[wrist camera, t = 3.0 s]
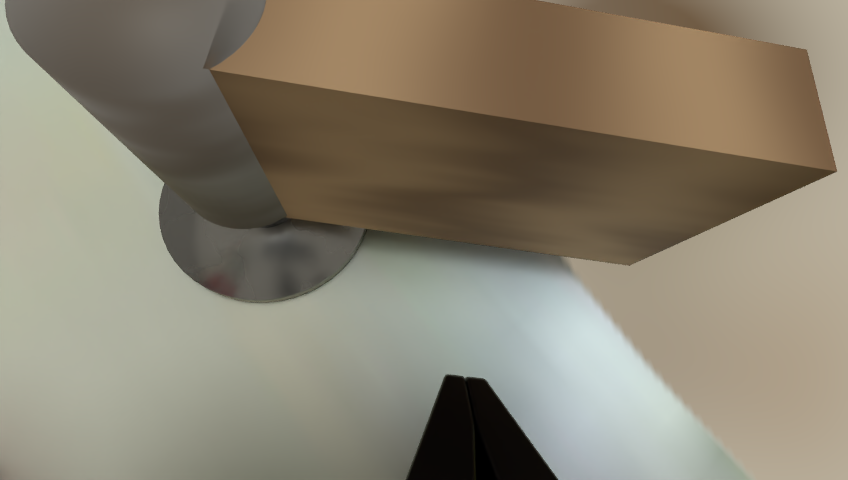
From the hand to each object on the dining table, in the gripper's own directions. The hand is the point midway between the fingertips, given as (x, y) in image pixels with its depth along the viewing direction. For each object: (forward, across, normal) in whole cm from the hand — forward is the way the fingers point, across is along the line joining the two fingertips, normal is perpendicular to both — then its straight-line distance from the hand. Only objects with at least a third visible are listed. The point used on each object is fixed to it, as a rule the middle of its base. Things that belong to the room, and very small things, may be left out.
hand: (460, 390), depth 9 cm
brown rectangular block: (+7, +1, -1) cm, 8 cm away
